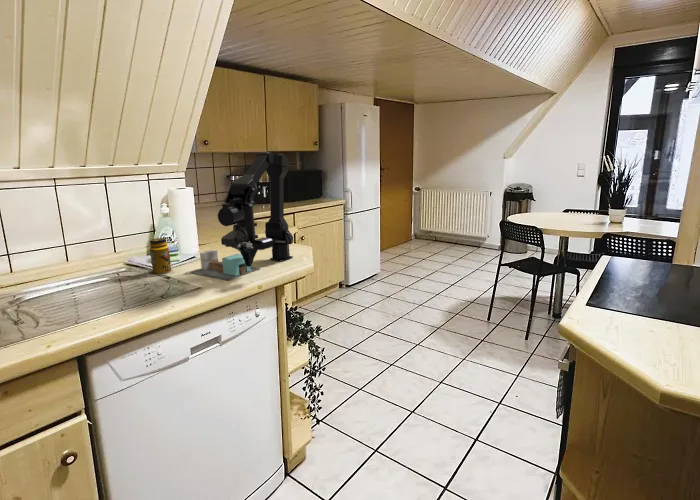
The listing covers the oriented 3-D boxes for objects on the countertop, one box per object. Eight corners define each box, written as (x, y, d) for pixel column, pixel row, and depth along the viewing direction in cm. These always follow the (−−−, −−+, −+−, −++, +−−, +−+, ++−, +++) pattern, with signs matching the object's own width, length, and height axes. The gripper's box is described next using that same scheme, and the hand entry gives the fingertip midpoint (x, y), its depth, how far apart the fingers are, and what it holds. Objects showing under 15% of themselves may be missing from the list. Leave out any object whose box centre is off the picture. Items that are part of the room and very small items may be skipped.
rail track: (223, 262, 153) (221, 246, 152) (260, 269, 144) (258, 252, 142) (189, 273, 141) (187, 255, 140) (227, 280, 131) (225, 262, 130)
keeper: (238, 268, 144) (237, 253, 142) (250, 270, 141) (249, 255, 139) (223, 273, 138) (221, 258, 137) (235, 275, 135) (234, 260, 134)
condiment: (174, 272, 142) (170, 239, 139) (148, 277, 138) (143, 243, 135) (170, 268, 148) (166, 236, 145) (145, 272, 143) (140, 239, 141)
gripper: (205, 222, 130) (211, 269, 134) (248, 227, 120) (252, 276, 124) (232, 217, 139) (236, 261, 143) (273, 221, 130) (276, 267, 133)
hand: (249, 266), depth 136 cm, fingers closed
